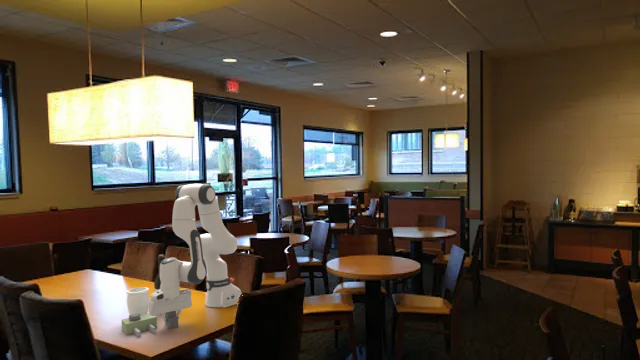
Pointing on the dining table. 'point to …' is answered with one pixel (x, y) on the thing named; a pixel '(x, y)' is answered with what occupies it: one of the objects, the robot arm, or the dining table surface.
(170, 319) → the upright grey box
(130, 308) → the jar
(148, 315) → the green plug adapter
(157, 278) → the wine bottle
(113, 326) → the dining table surface
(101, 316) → the dining table surface
